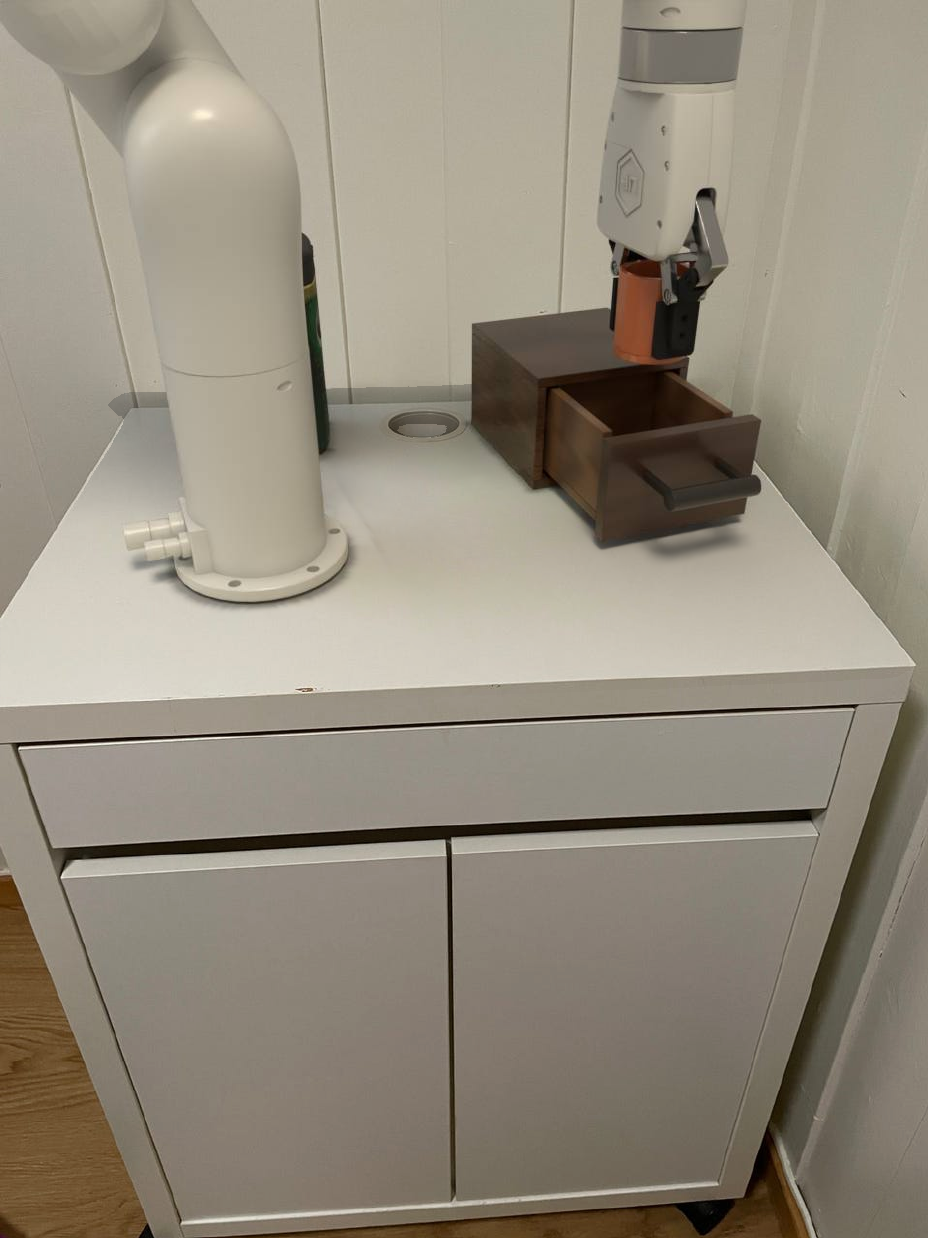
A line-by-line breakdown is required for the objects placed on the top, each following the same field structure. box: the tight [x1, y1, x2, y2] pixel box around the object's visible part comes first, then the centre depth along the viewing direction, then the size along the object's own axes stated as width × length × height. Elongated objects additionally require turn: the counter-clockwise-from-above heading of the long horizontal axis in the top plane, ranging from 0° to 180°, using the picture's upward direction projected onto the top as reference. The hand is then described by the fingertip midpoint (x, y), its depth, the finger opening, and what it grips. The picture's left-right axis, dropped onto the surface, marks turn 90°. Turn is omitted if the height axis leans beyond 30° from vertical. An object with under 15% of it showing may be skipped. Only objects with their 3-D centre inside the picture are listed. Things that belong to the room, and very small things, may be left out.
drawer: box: [542, 370, 762, 542], centre depth 75 cm, size 18×12×8 cm
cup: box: [613, 259, 689, 365], centre depth 71 cm, size 5×6×6 cm
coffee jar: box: [302, 232, 331, 453], centre depth 84 cm, size 10×8×19 cm
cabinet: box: [470, 307, 690, 490], centre depth 86 cm, size 15×14×10 cm
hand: (650, 340), depth 72 cm, fingers closed on cup, 5 cm apart
